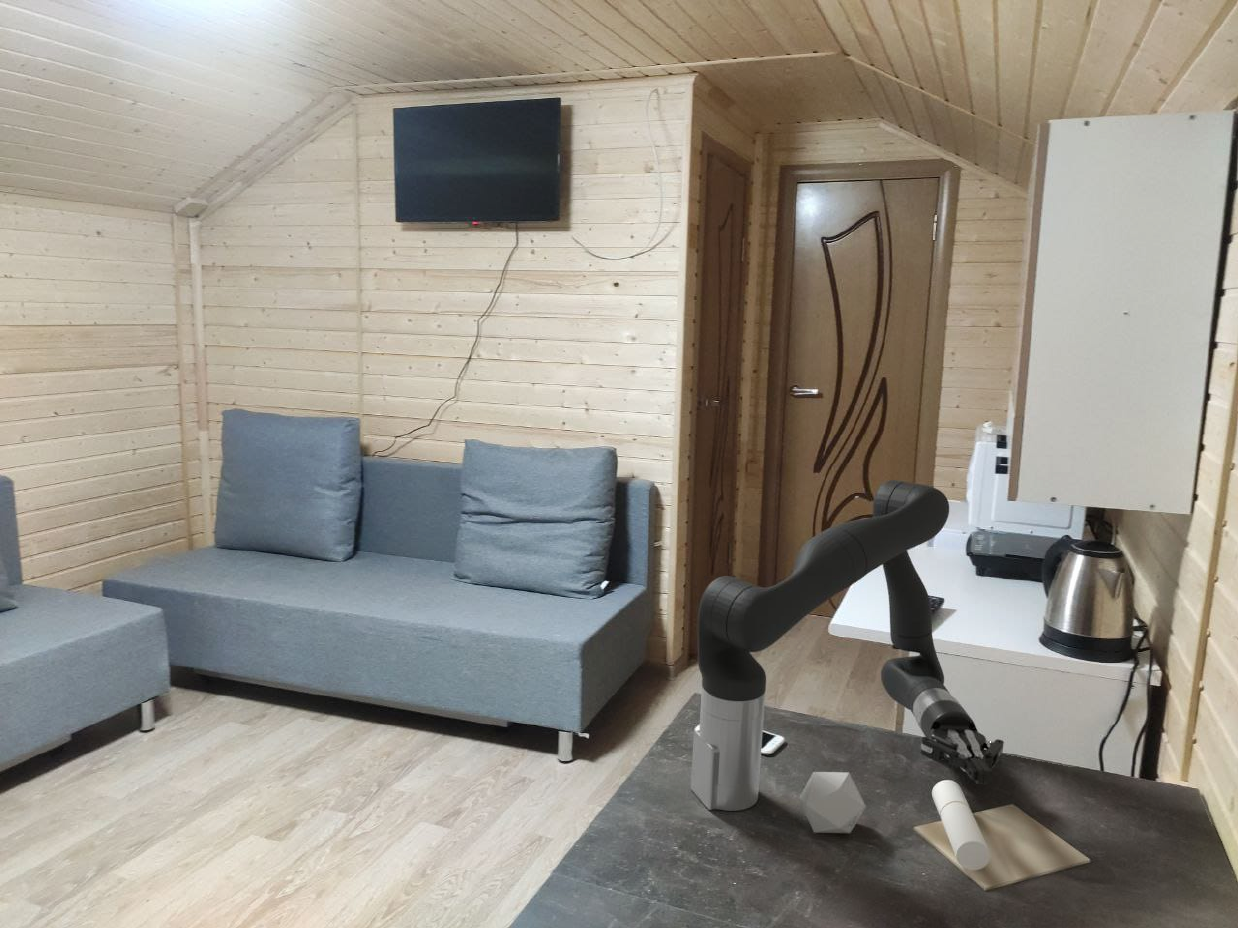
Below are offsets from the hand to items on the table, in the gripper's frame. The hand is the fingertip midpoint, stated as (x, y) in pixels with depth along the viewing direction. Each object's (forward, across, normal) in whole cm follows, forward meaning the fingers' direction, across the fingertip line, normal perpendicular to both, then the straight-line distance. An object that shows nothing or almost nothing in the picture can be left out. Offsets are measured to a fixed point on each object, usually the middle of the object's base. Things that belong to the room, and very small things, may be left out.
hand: (983, 778), depth 133 cm
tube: (-3, -4, +4) cm, 7 cm away
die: (+2, -22, +7) cm, 23 cm away
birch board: (+5, +1, +7) cm, 9 cm away
